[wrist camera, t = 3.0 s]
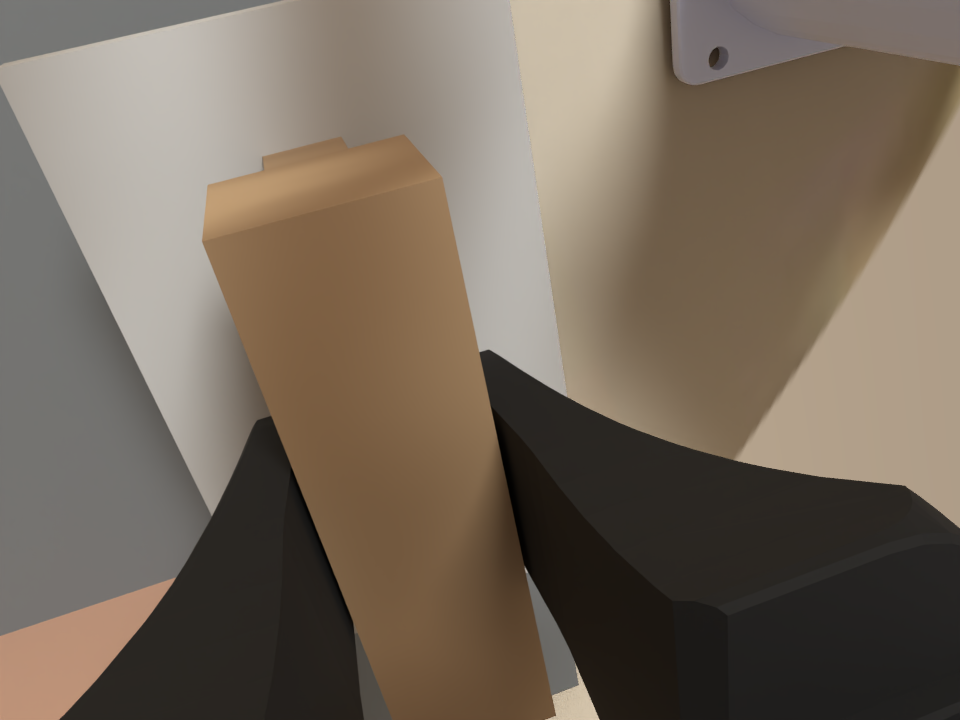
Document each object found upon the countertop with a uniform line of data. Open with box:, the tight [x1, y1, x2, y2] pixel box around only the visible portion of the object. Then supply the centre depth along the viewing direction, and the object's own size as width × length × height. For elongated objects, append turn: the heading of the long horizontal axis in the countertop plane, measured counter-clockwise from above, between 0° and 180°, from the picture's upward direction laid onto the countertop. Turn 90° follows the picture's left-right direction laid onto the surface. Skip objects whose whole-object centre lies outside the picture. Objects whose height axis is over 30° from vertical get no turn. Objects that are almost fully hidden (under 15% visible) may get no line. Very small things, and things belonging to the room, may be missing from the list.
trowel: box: [0, 0, 567, 720], centre depth 12 cm, size 7×12×5 cm, turn 11°
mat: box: [0, 0, 579, 720], centre depth 20 cm, size 21×26×1 cm
